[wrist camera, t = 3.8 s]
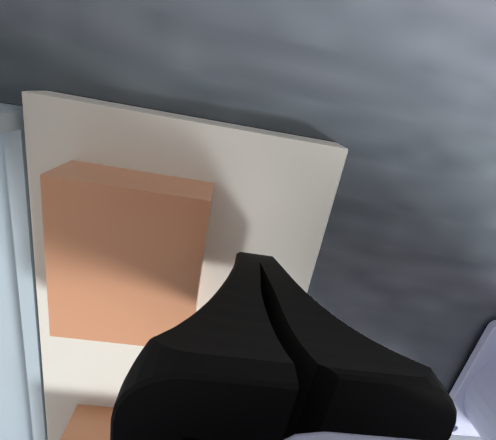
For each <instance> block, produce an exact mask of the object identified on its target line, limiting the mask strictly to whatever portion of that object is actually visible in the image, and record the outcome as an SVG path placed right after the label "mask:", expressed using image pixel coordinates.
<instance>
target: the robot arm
mask: <svg viewBox="0 0 496 440" xmlns="http://www.w3.org/2000/svg"><path fill="white" fill-rule="evenodd" d="M451 434H455V435H466V436H477V437H481V438H482V439H483V440H496V320H494V321H492V322H490V323H489V324H488V325H487V327H486V329H485V330H484V332H483V334H482V336H481V338H480V339H479V341H478V343H477V345H476V347H475V348H474V350H473V352H472V354H471V356H470V357H469V359H468V361H467V363H466V365H465V366H464V368H463V370H462V372H461V374H460V375H459V377H458V379H457V381H456V382H455V384H454V386H453V388H452V390H451V391H450V393H449V394H448V393H447V391H446V390H445V388H444V387H443V385H442V384H441V383H440V381H439V380H438V378H437V377H436V375H435V374H434V372H433V371H432V370H431V368H429V367H427V366H425V365H423V364H420V363H418V362H416V361H414V360H411V359H409V358H407V357H405V356H402V355H400V354H398V353H395V352H393V351H391V350H389V349H388V348H386V347H384V346H382V345H380V344H378V343H376V342H374V341H372V340H371V339H369V338H367V337H365V336H364V335H362V334H360V333H359V332H357V331H356V330H354V329H352V328H351V327H349V326H348V325H346V324H345V323H343V322H342V321H340V320H339V319H337V318H336V317H335V316H333V315H332V314H331V313H330V312H328V311H327V310H326V309H324V308H323V307H322V306H321V305H319V304H318V303H317V302H316V301H315V300H314V299H313V298H312V297H310V296H309V295H308V294H307V293H306V292H305V291H304V290H303V289H302V288H301V287H300V286H299V285H298V284H297V283H296V282H295V281H294V280H293V278H292V277H291V276H290V275H289V274H288V273H287V272H286V271H285V270H284V268H283V267H282V266H281V265H280V264H279V263H278V261H277V260H276V259H275V258H274V257H273V256H267V255H260V254H252V253H245V252H239V253H237V254H236V258H235V264H234V266H233V268H232V270H231V272H230V274H229V275H228V277H227V279H226V280H225V281H224V283H223V284H222V286H221V287H220V288H219V290H218V291H217V292H216V293H215V294H214V295H213V297H212V298H211V299H210V300H209V301H208V302H207V303H206V304H205V305H203V306H202V307H201V308H200V309H199V310H198V311H197V312H195V313H194V314H193V315H192V316H190V317H189V318H187V319H186V320H184V321H183V322H181V323H180V324H178V325H177V326H175V327H173V328H171V329H169V330H167V331H165V332H163V333H161V334H159V335H157V336H155V337H152V338H151V339H149V341H148V342H147V343H146V345H145V346H144V348H143V349H142V351H141V352H140V353H139V355H138V357H137V358H136V360H135V361H134V363H133V365H132V366H131V368H130V370H129V372H128V374H127V376H126V377H125V379H124V381H123V384H122V386H121V388H120V391H119V394H118V396H117V399H116V402H115V404H114V407H113V412H112V416H111V426H110V440H449V438H450V436H451Z"/></svg>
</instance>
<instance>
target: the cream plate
mask: <svg viewBox="0 0 496 440" xmlns="http://www.w3.org/2000/svg"><path fill="white" fill-rule="evenodd" d="M22 104H23V117H24V130H25V144H26V157H27V170H28V183H29V196H30V210H31V223H32V236H33V249H34V263H35V276H36V289H37V302H38V316H39V329H40V342H41V355H42V369H43V382H44V395H45V408H46V421H47V435H48V440H60V438H61V436H62V434H63V432H64V430H65V428H66V426H67V424H68V422H69V420H70V418H71V416H72V414H73V412H74V410H75V408H76V406H77V404H82V405H93V406H104V407H114V404H115V402H116V399H117V396H118V394H119V391H120V388H121V386H122V384H123V381H124V379H125V377H126V376H127V374H128V372H129V370H130V368H131V366H132V365H133V363H134V361H135V360H136V358H137V357H138V355H139V353H140V352H141V351H142V349H143V348H144V346H138V345H128V344H119V343H110V342H101V341H91V340H82V339H73V338H63V337H54V336H50V332H49V315H48V299H47V283H46V267H45V250H44V234H43V218H42V202H41V186H40V174H42V173H44V172H46V171H49V170H51V169H53V168H55V167H58V166H60V165H62V164H64V163H66V162H69V161H71V160H74V161H80V162H86V163H93V164H99V165H105V166H111V167H118V168H124V169H130V170H136V171H143V172H149V173H155V174H161V175H168V176H174V177H180V178H186V179H193V180H199V181H205V182H211V183H215V184H214V191H213V198H212V205H211V212H210V219H209V226H208V233H207V240H206V247H205V254H204V261H203V268H202V275H201V282H200V288H199V295H198V302H197V309H196V312H197V311H198V310H199V309H200V308H201V307H202V306H203V305H205V304H206V303H207V302H208V301H209V300H210V299H211V298H212V297H213V295H214V294H215V293H216V292H217V291H218V290H219V288H220V287H221V286H222V284H223V283H224V281H225V280H226V279H227V277H228V275H229V274H230V272H231V270H232V268H233V266H234V264H235V258H236V254H237V253H239V252H245V253H252V254H260V255H267V256H273V257H274V258H275V259H276V260H277V261H278V263H279V264H280V265H281V266H282V267H283V268H284V270H285V271H286V272H287V273H288V274H289V275H290V276H291V277H292V278H293V280H294V281H295V282H296V283H297V284H298V285H299V286H300V287H301V288H302V289H303V290H304V291H305V292H306V293H307V292H308V288H309V285H310V281H311V278H312V274H313V271H314V267H315V264H316V261H317V257H318V254H319V250H320V247H321V243H322V240H323V236H324V233H325V229H326V226H327V223H328V219H329V216H330V212H331V209H332V205H333V202H334V198H335V195H336V191H337V188H338V185H339V181H340V178H341V174H342V171H343V167H344V164H345V160H346V157H347V153H348V150H349V149H347V148H346V147H344V146H342V145H340V144H338V143H336V142H331V141H325V140H320V139H314V138H309V137H303V136H297V135H292V134H286V133H281V132H275V131H269V130H264V129H258V128H253V127H247V126H242V125H236V124H230V123H225V122H219V121H214V120H208V119H203V118H197V117H191V116H186V115H180V114H175V113H169V112H163V111H158V110H152V109H147V108H141V107H136V106H130V105H124V104H119V103H113V102H108V101H102V100H96V99H91V98H85V97H80V96H74V95H69V94H63V93H57V92H52V91H22Z"/></svg>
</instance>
